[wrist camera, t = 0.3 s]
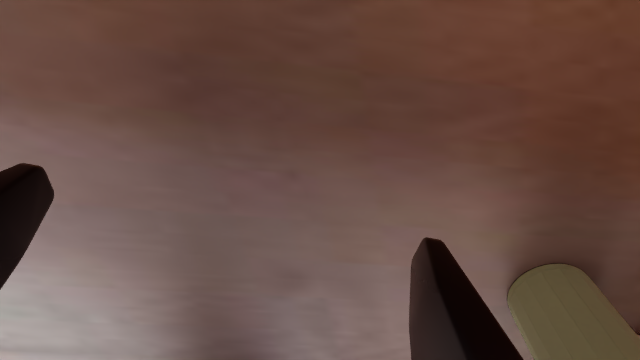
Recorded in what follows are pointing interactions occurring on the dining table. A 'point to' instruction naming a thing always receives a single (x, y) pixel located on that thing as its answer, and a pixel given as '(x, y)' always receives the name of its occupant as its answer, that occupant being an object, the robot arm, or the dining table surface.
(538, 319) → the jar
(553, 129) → the dining table surface
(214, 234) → the dining table surface
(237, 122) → the dining table surface
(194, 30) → the dining table surface
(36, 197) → the robot arm
